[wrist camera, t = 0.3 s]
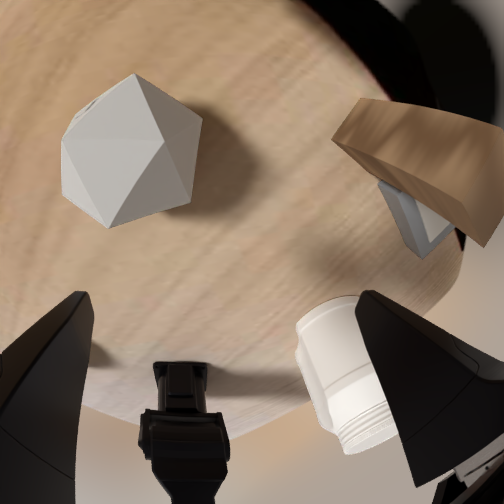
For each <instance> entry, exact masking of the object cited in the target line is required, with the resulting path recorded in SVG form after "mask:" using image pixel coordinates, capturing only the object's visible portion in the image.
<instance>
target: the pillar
mask: <svg viewBox="0 0 504 504" xmlns="http://www.w3.org/2000/svg"><path fill="white" fill-rule="evenodd" d="M331 140H332V141H333V142H334V143H336V144H337V145H338V146H339V147H340V148H342V149H343V150H344V151H345V152H346V153H347V154H348V155H350V156H351V157H352V158H353V159H354V160H355V161H356V162H357V163H359V164H360V165H361V166H362V167H363V168H364V169H365V170H366V171H368V172H370V173H371V174H373V175H375V176H377V177H379V178H380V179H382V180H384V181H386V182H388V183H389V184H391V185H393V186H394V187H396V188H398V189H399V190H401V191H403V192H404V193H406V194H408V195H409V196H411V197H413V198H414V199H416V200H417V201H419V202H420V203H422V204H424V205H425V206H427V207H428V208H430V209H431V210H433V211H434V212H436V213H437V214H439V215H440V216H441V217H443V218H444V219H446V220H447V221H449V222H450V223H451V224H453V225H454V226H456V227H457V228H458V229H460V230H461V231H462V232H464V233H465V234H466V235H468V236H469V237H470V238H472V239H473V240H474V241H476V242H477V243H478V244H479V245H480V246H482V247H483V248H484V247H485V245H486V244H487V242H488V241H489V239H490V238H491V236H492V234H493V233H494V231H495V229H496V228H497V226H498V224H499V223H500V221H501V219H502V218H503V216H504V132H503V130H502V128H500V127H497V126H494V125H490V124H488V123H485V122H481V121H478V120H475V119H471V118H468V117H465V116H461V115H457V114H453V113H449V112H445V111H441V110H436V109H432V108H427V107H422V106H416V105H411V104H405V103H398V102H391V101H383V100H375V99H365V98H360V100H359V101H358V103H357V104H356V105H355V107H354V108H353V109H352V111H351V112H350V114H349V115H348V116H347V118H346V119H345V121H344V122H343V123H342V125H341V126H340V127H339V129H338V130H337V132H336V133H335V134H334V136H333V137H332V139H331Z"/></svg>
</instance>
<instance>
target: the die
mask: <svg viewBox="0 0 504 504" xmlns="http://www.w3.org/2000/svg"><path fill="white" fill-rule="evenodd" d="M202 120H203V118H201V117H200V116H199V115H197V114H196V113H194V112H193V111H191V110H190V109H189V108H187V107H186V106H184V105H183V104H181V103H180V102H178V101H177V100H175V99H174V98H173V97H171V96H170V95H168V94H167V93H165V92H163V91H162V90H160V89H159V88H157V87H156V86H154V85H153V84H151V83H150V82H148V81H146V80H145V79H143V78H142V77H140V76H138V75H137V74H135V73H134V74H132V75H130V76H129V77H127V78H126V79H124V80H122V81H121V82H119V83H118V84H116V85H115V86H113V87H112V88H110V89H109V90H107V91H106V92H104V93H103V94H102V95H100V96H99V97H97V98H96V99H95V100H93V101H92V102H91V103H89V104H88V105H87V106H85V107H84V108H83V109H82V110H80V111H79V112H78V113H76V114H75V116H74V118H73V119H72V121H71V123H70V125H69V127H68V128H67V130H66V132H65V134H64V136H63V138H62V141H61V181H62V195H63V196H65V197H66V198H67V199H68V200H70V201H71V202H72V203H74V204H75V205H76V206H78V207H79V208H80V209H82V210H83V211H84V212H86V213H87V214H88V215H90V216H91V217H93V218H94V219H95V220H97V221H98V222H99V223H101V224H102V225H104V226H105V227H106V228H108V229H109V228H112V227H115V226H118V225H121V224H124V223H127V222H130V221H133V220H136V219H139V218H142V217H145V216H148V215H151V214H154V213H158V212H161V211H164V210H167V209H171V208H174V207H178V206H181V205H184V204H188V203H191V198H192V190H193V182H194V174H195V166H196V159H197V152H198V145H199V139H200V132H201V126H202Z"/></svg>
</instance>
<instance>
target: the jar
mask: <svg viewBox="0 0 504 504" xmlns="http://www.w3.org/2000/svg"><path fill="white" fill-rule="evenodd" d="M359 298H360V297H358V296H343V297H338V298H334V299H331V300H329V301H326V302H324V303H322V304H320V305H318V306H317V307H315V308H313V309H312V310H310V311H309V312H308V313H306V314H305V315H304V316H303V317H302V318H301V319H300V320H299V321H298V322H297V323H296V332H297V334H298V337H299V342H298V347H297V349H296V351H295V358H296V361H297V364H298V365H299V367H300V370H301V373H302V376H303V378H304V381H305V384H306V386H307V389H308V392H309V395H310V397H311V400H312V403H313V405H314V408H315V410H316V413H317V418H318V421H319V424H320V425H321V426H322V427H323V428H324V429H326V430H328V431H330V432H332V433H334V434H336V435H337V436H338V437H339V441H340V442H341V443H340V444H341V446H342V447H343V451H344V453H345V454H346V455H349V454H354V453H358V452H361V451H364V450H367V449H369V448H372V447H374V446H376V445H378V444H380V443H382V442H384V441H386V440H388V439H390V438H392V437H393V436H395V435H396V434H398V430H397V427H396V424H395V422H394V419H393V416H392V413H391V411H390V408H389V405H388V403H387V400H386V397H385V395H384V392H383V390H382V387H381V384H380V382H379V379H378V377H377V374H376V372H375V370H374V367H373V365H372V362H371V360H370V358H369V355H368V353H367V350H366V347H365V344H364V341H363V338H362V335H361V332H360V329H359V326H358V322H357V319H356V316H355V307H356V305H357V302H358V300H359Z"/></svg>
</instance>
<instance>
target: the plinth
mask: <svg viewBox="0 0 504 504" xmlns="http://www.w3.org/2000/svg"><path fill="white" fill-rule="evenodd" d="M378 186H379V188H380V190H381V192H382V194H383V196H384V198H385V200H386V202H387V204H388V206H389V208H390V210H391V213H392V215H393V217H394V219H395V221H396V223H397V226H398V228H399V230H400V232H401V235H402V237H403V239H404V242H405V244H406V246H407V247H409V248H410V249H411V250H412V251H413V252H414V253H415V254H416V255H417V256H418V257H419V258H421V259H423V258H425V257H426V256H427V255H428V254H429V253H430V252H431V251H432V250H433V249H434V248H435V247H436V246H437V245H438V244H439V243H440V242H441V241H442V240H443V239H444V238H445V237H446V236H447V235H448V234H449V233H450V232H451V231H452V230H453V229H454V228H455V227H456V226H454V225H453V224H451V223H450V222H449V221H447V220H446V219H444V218H443V217H441V216H440V215H439V214H437V213H436V212H434V211H433V210H431V209H430V208H428V207H427V206H425V205H424V204H422V203H420V202H419V201H417V200H416V199H414V198H413V197H411V196H409V195H408V194H406V193H404V192H403V191H401V190H399V189H398V188H396V187H394V186H393V185H391V184H389V183H388V182H386V181H384V180H382V181H380V182H379V183H378Z"/></svg>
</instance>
